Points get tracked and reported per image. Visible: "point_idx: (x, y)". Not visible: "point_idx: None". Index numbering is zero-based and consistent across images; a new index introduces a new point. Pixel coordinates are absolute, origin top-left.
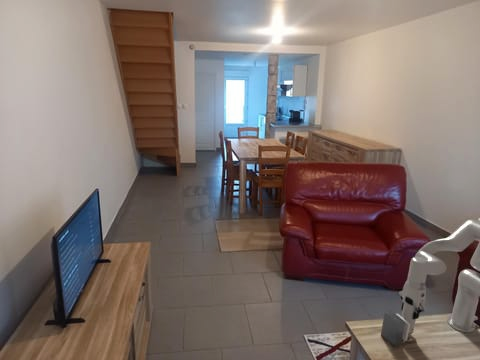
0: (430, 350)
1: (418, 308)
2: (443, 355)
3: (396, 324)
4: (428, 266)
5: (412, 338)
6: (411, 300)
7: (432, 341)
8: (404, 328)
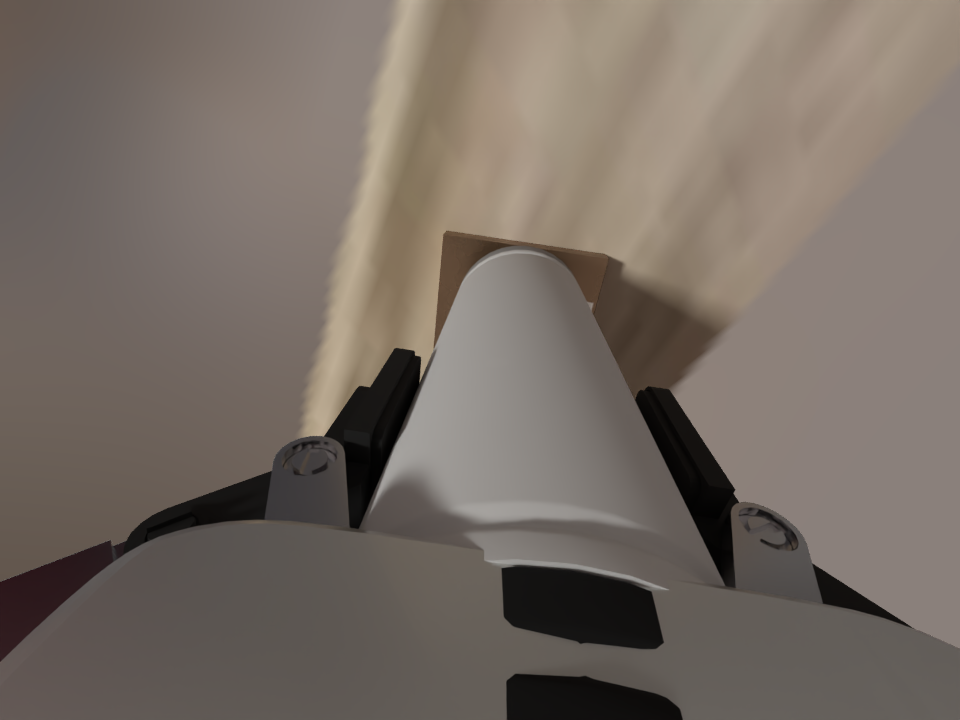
0: (738, 238)
1: (737, 584)
2: (852, 186)
3: None
4: None
5: (581, 280)
6: None
7: (706, 94)
8: None
